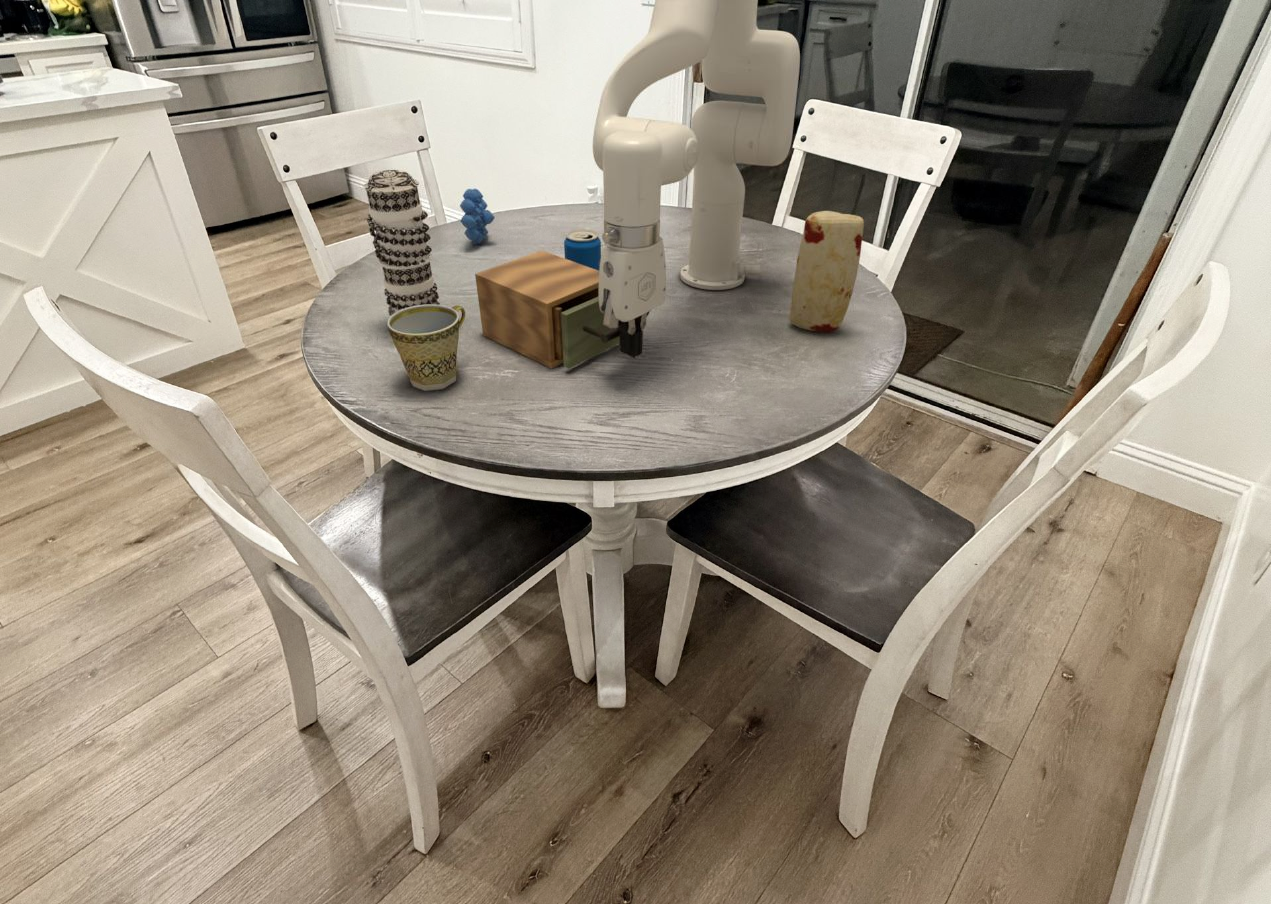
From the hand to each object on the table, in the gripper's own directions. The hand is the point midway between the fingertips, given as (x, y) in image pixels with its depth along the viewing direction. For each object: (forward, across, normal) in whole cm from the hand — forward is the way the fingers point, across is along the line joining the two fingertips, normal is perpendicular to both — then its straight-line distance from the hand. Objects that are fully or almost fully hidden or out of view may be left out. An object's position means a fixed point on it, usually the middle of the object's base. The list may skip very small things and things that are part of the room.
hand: (630, 352), depth 106 cm
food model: (+4, +33, -13) cm, 36 cm away
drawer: (+3, 0, +12) cm, 12 cm away
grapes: (+4, +21, +61) cm, 65 cm away
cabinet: (+4, 0, +19) cm, 19 cm away
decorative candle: (+4, -12, +38) cm, 40 cm away
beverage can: (+4, +15, +25) cm, 29 cm away
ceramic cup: (+4, -20, +21) cm, 29 cm away
